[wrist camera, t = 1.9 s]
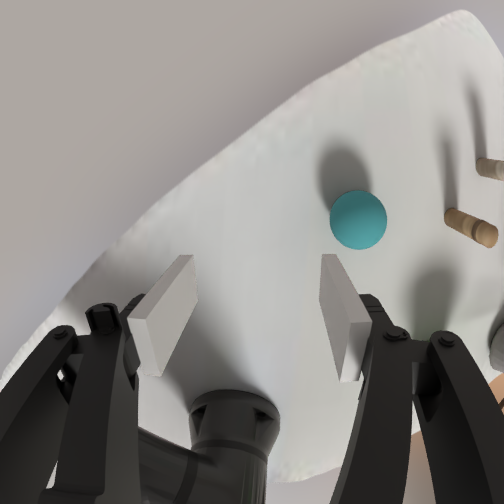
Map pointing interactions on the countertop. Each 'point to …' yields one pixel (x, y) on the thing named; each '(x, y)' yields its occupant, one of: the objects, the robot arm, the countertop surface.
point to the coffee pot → (498, 353)
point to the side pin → (490, 168)
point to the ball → (358, 219)
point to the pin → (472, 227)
